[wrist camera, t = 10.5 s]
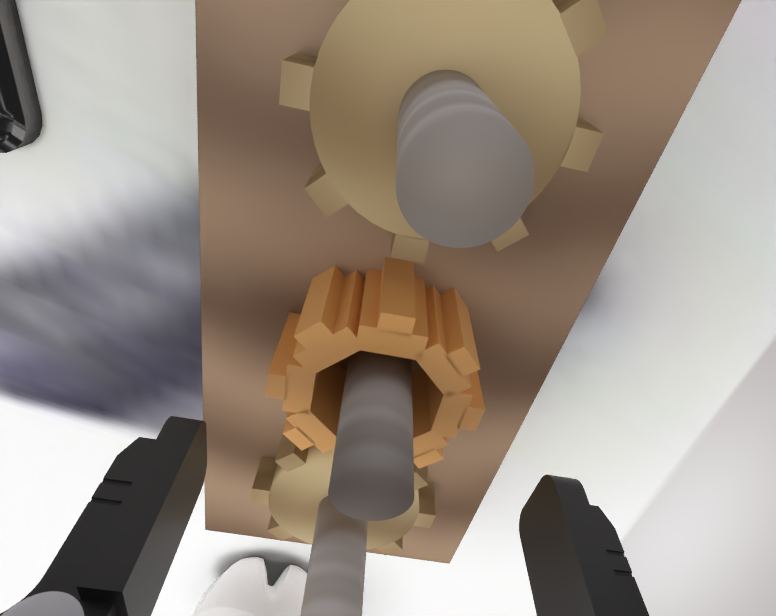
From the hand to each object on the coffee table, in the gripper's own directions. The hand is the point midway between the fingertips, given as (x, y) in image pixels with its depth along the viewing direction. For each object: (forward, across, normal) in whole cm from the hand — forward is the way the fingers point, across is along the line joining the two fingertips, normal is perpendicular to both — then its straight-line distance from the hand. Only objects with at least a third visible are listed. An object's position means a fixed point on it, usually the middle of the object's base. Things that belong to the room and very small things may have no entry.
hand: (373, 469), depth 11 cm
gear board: (+8, 0, 0) cm, 8 cm away
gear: (+6, 0, 0) cm, 6 cm away
